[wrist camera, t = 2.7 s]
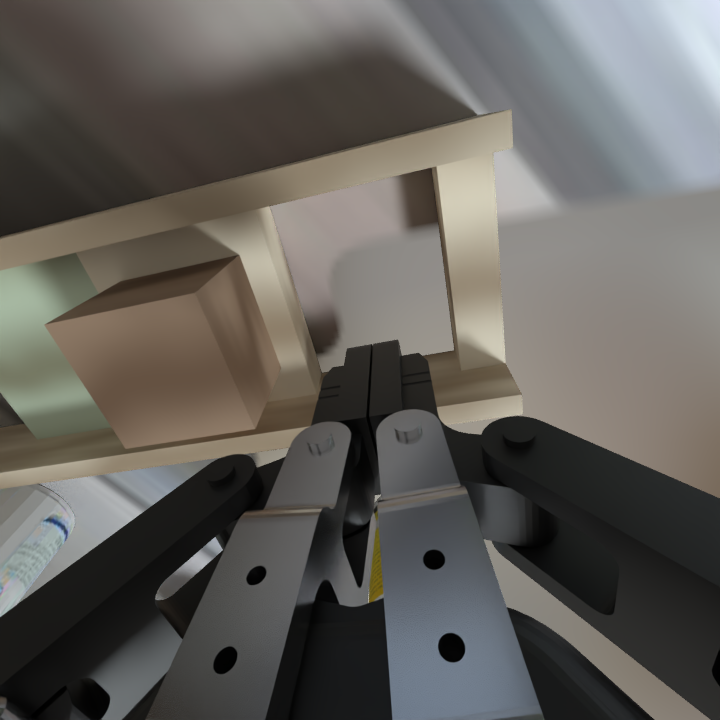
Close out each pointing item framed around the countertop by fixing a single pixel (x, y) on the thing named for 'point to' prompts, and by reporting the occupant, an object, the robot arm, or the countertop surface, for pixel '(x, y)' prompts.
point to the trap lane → (270, 287)
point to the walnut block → (173, 353)
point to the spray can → (29, 537)
